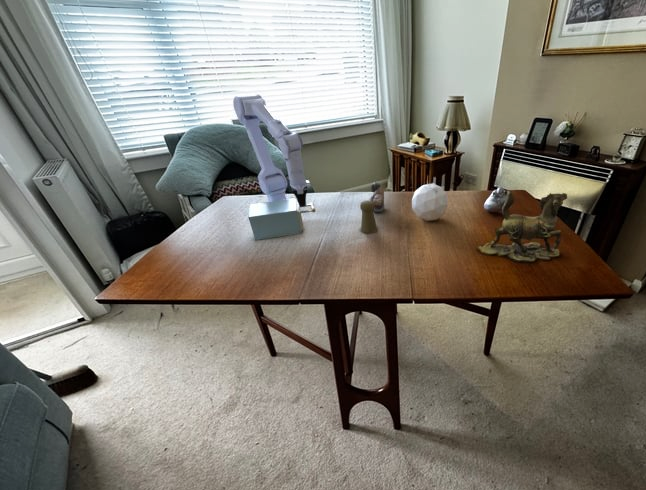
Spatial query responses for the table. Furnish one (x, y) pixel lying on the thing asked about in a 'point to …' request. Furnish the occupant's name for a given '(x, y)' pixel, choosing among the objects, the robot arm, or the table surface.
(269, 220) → the cabinet
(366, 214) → the cork
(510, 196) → the figurine
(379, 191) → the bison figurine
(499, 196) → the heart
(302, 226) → the drawer
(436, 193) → the geodesic sphere
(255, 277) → the table surface
